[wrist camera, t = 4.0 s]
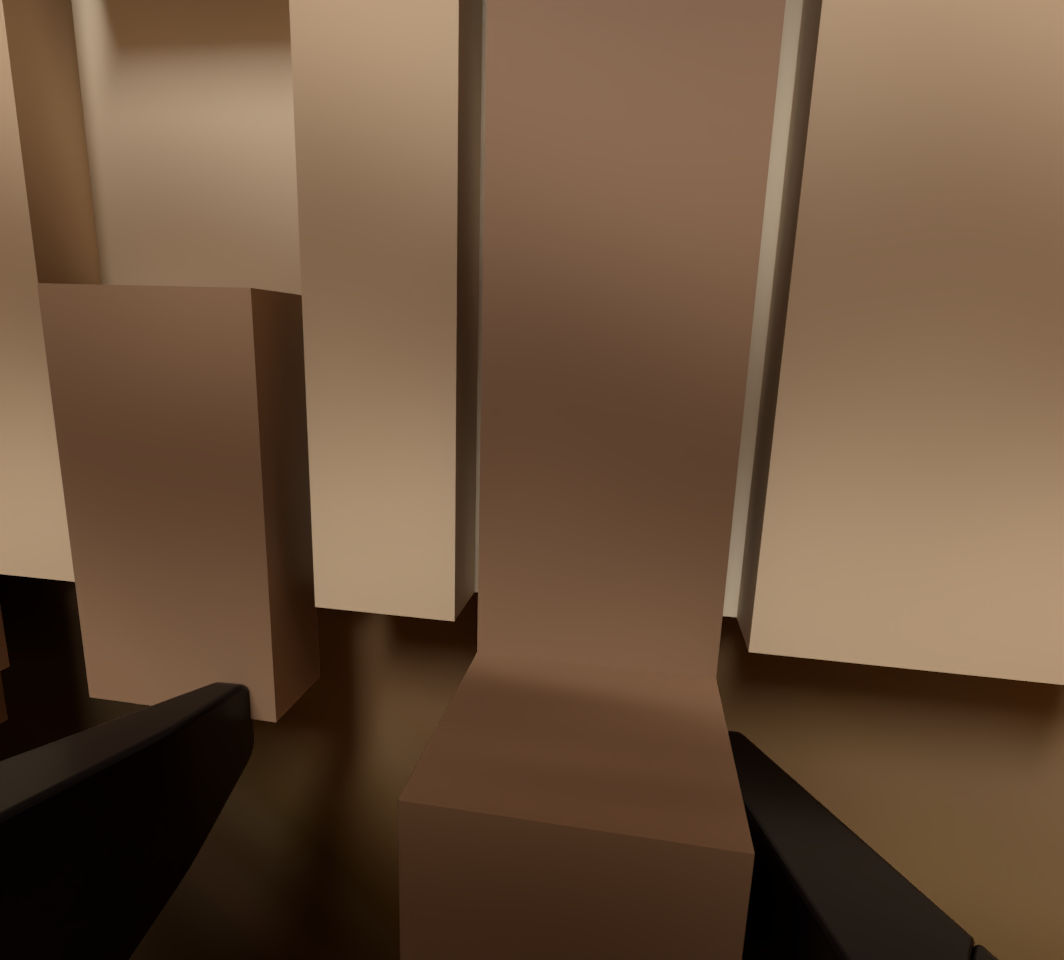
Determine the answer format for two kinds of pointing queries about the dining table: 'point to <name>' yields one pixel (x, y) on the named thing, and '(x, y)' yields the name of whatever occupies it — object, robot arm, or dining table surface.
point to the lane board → (456, 333)
